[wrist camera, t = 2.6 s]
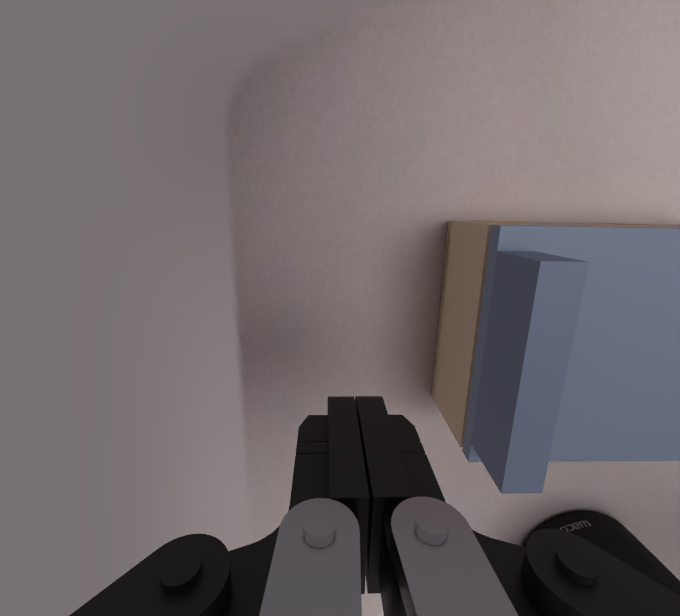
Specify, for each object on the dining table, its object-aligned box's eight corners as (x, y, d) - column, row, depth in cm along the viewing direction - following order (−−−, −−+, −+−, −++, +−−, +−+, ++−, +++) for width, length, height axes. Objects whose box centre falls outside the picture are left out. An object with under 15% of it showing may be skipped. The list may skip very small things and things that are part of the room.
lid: (811, 230, 15) (966, 236, 11) (731, 449, 18) (834, 510, 14) (491, 224, 15) (546, 229, 11) (462, 450, 18) (497, 514, 14)
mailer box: (686, 225, 20) (802, 229, 15) (640, 395, 23) (725, 445, 18) (448, 221, 20) (488, 224, 15) (431, 395, 23) (460, 446, 18)
